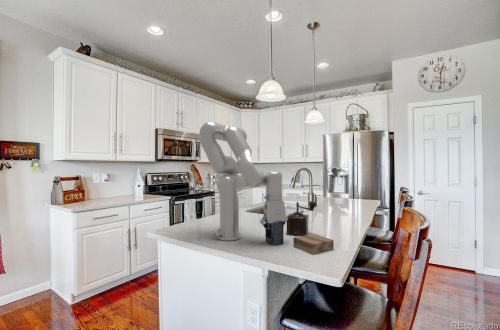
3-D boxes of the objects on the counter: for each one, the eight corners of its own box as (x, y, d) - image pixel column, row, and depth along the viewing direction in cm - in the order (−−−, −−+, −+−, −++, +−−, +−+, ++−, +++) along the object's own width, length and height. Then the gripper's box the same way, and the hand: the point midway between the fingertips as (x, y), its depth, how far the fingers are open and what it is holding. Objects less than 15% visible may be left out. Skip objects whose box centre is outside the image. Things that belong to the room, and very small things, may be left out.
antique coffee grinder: (285, 235, 131) (285, 200, 131) (289, 229, 141) (289, 197, 141) (316, 238, 125) (315, 201, 126) (318, 232, 136) (318, 199, 136)
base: (313, 254, 102) (313, 244, 102) (293, 246, 112) (293, 237, 112) (333, 249, 108) (333, 240, 108) (313, 242, 118) (313, 233, 118)
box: (265, 241, 120) (265, 219, 120) (275, 239, 123) (275, 218, 123) (273, 245, 113) (272, 222, 113) (283, 244, 115) (283, 221, 115)
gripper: (263, 200, 110) (263, 241, 110) (293, 197, 119) (293, 235, 119) (254, 198, 117) (254, 237, 117) (283, 196, 126) (283, 232, 125)
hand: (274, 236), depth 118 cm, fingers closed on box, 6 cm apart
